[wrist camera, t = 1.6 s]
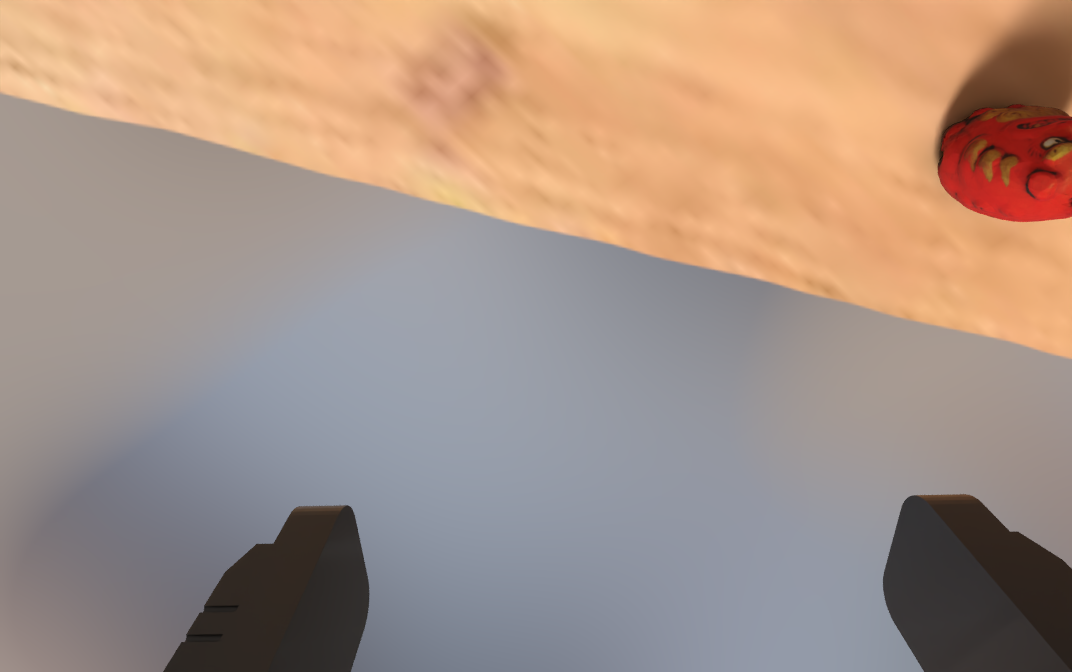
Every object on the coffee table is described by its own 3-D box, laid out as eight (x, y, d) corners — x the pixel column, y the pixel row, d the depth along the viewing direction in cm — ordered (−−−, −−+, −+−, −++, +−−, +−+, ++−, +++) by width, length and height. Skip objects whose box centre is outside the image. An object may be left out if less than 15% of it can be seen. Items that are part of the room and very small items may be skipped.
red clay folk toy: (1053, 91, 40) (1306, 120, 26) (1033, 197, 43) (1252, 272, 29) (930, 112, 40) (1114, 151, 27) (919, 215, 44) (1081, 296, 30)
